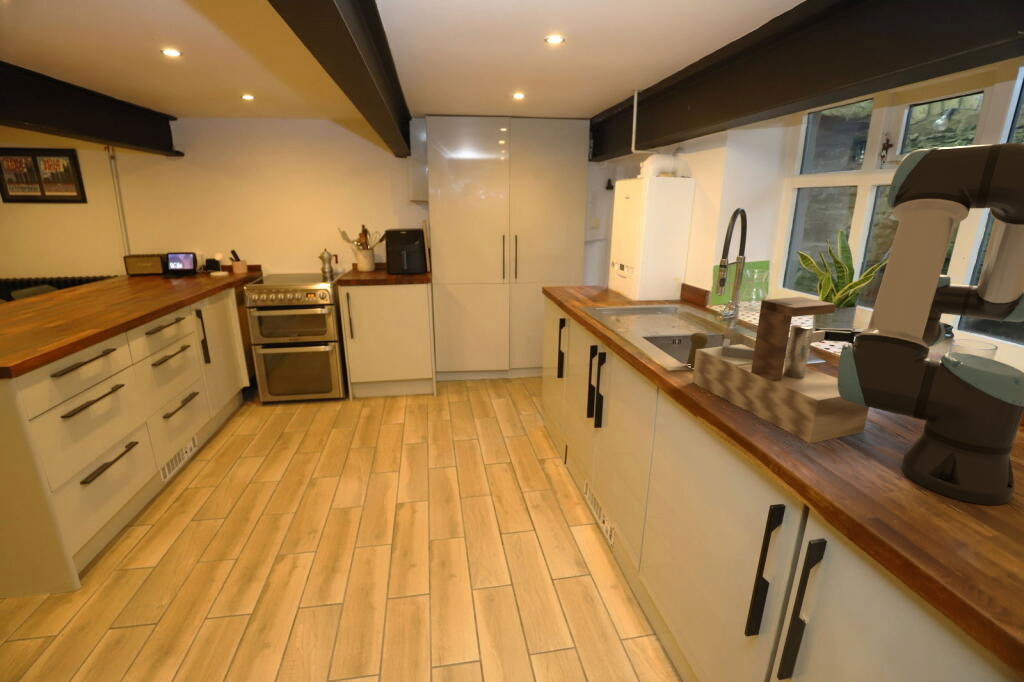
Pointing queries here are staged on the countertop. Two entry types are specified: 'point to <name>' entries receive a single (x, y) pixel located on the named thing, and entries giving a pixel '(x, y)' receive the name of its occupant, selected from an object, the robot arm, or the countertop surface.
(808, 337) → the axle
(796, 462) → the countertop surface
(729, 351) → the v cradle
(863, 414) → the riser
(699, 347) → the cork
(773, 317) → the brown wooden l bracket
